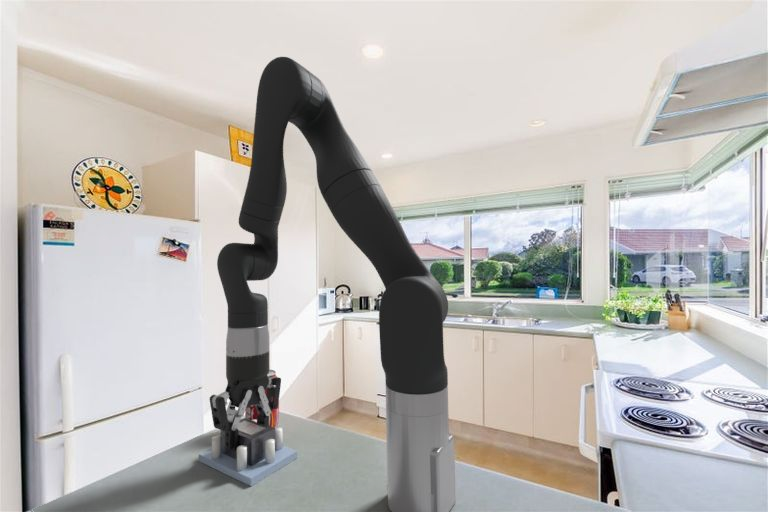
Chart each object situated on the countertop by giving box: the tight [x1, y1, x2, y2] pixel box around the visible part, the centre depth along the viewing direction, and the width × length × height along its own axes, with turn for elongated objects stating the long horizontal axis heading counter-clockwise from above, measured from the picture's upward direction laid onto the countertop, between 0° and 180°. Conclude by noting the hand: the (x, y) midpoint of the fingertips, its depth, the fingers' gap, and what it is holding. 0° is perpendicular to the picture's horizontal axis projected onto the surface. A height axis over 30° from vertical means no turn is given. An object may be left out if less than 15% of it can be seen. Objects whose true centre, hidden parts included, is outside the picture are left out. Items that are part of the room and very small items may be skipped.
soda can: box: [244, 369, 280, 428], centre depth 78 cm, size 7×7×12 cm
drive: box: [220, 417, 276, 466], centre depth 64 cm, size 9×5×5 cm, turn 57°
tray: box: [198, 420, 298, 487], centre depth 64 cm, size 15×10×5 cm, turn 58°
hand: (248, 442), depth 64 cm, fingers open, 5 cm apart
